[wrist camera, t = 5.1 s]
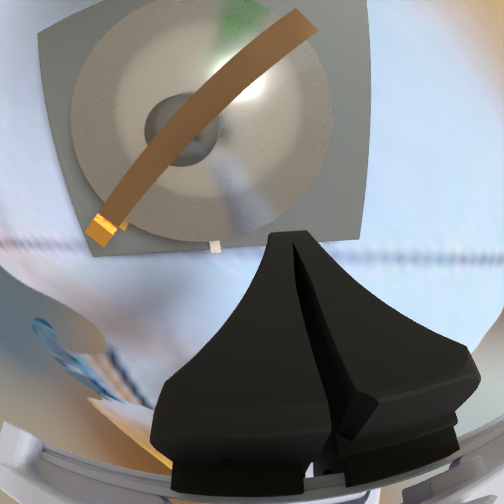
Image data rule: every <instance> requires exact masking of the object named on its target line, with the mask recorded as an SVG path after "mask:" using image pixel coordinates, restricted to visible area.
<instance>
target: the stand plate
mask: <svg viewBox="0 0 504 504" xmlns="http://www.w3.org/2000/svg"><path fill="white" fill-rule="evenodd" d="M153 1H156V0H106V1H103V2H101V3H98V4H96V5H93V6H91V7H89V8H86V9H84V10H82V11H80V12H78V13H75V14H73V15H71V16H69V17H67V18H65V19H63V20H61V21H59V22H57V23H55V24H54V25H52V26H50V27H48V28H46V29H45V30H43V31H41V32H39V33H38V48H39V59H40V68H41V76H42V83H43V90H44V96H45V102H46V107H47V112H48V117H49V122H50V127H51V131H52V135H53V140H54V144H55V148H56V151H57V155H58V159H59V162H60V166H61V169H62V173H63V176H64V179H65V183H66V186H67V189H68V192H69V195H70V198H71V201H72V204H73V207H74V210H75V212H76V215H77V218H78V221H79V223H80V226H81V228H82V231H83V234H84V236H85V239H86V241H87V243H88V246H89V248H90V251H91V253H92V255H93V257H100V256H114V255H128V254H142V253H156V252H170V251H185V250H200V249H211V253H221V248H230V247H245V246H260V245H267V240H268V235H269V234H270V233H271V232H283V231H299V230H307V231H308V232H309V233H310V234H311V235H312V236H313V237H314V239H315V240H316V241H317V242H324V241H341V240H358V239H359V237H360V230H361V223H362V215H363V207H364V199H365V189H366V179H367V168H368V155H369V139H370V115H371V60H370V38H369V24H368V12H367V2H366V0H252V1H255V2H257V3H259V4H262V5H264V6H266V7H268V8H270V9H271V10H273V11H274V12H276V13H278V14H279V15H281V16H282V17H283V16H285V15H286V14H287V13H289V12H290V11H292V10H293V9H295V8H296V9H297V10H299V11H300V12H301V13H302V14H303V15H304V16H305V17H306V18H307V19H308V20H309V21H310V22H311V23H312V24H313V25H314V26H315V27H316V28H317V29H318V30H319V31H318V32H317V33H315V34H314V35H312V36H311V37H310V38H308V39H307V41H308V42H309V43H310V45H311V46H312V48H313V50H314V51H315V53H316V54H317V56H318V58H319V59H320V62H321V64H322V66H323V68H324V71H325V73H326V76H327V79H328V83H329V87H330V90H331V97H332V105H333V125H332V133H331V138H330V144H329V147H328V150H327V153H326V156H325V159H324V162H323V164H322V166H321V168H320V170H319V172H318V174H317V176H316V177H315V179H314V180H313V182H312V183H311V185H310V186H309V188H308V189H307V191H306V192H305V193H304V194H303V195H302V196H301V197H300V199H299V200H298V201H297V202H296V203H295V204H294V205H293V206H292V207H290V208H289V209H288V210H287V211H286V212H285V213H283V214H282V215H281V216H279V217H278V218H276V219H275V220H273V221H272V222H270V223H268V224H266V225H265V226H263V227H261V228H259V229H257V230H254V231H252V232H249V233H247V234H244V235H241V236H237V237H234V238H230V239H225V240H218V241H209V242H191V241H180V240H175V239H169V238H165V237H162V236H159V235H155V234H152V233H150V232H148V231H145V230H143V229H141V228H139V227H137V226H135V225H133V224H131V223H130V222H128V221H126V220H125V219H124V221H123V222H122V223H121V225H120V226H119V227H118V229H117V230H116V231H115V233H114V235H113V236H112V238H111V239H110V240H109V242H108V243H107V244H106V246H105V247H103V246H101V245H100V244H99V243H98V242H96V241H95V240H94V239H93V238H91V237H90V236H89V235H88V234H86V233H85V231H86V230H87V228H88V226H89V225H90V223H91V222H92V220H93V219H94V217H95V216H96V215H97V214H98V212H99V211H100V209H101V208H102V206H103V205H104V201H103V200H102V199H101V198H100V197H99V196H98V195H97V193H96V192H95V191H94V189H93V188H92V186H91V185H90V183H89V182H88V180H87V179H86V177H85V175H84V173H83V171H82V169H81V167H80V165H79V162H78V159H77V156H76V153H75V150H74V145H73V140H72V134H71V104H72V99H73V93H74V89H75V86H76V83H77V80H78V77H79V74H80V72H81V70H82V67H83V65H84V63H85V61H86V59H87V58H88V56H89V55H90V53H91V52H92V50H93V49H94V47H95V46H96V44H97V43H98V42H99V41H100V40H101V38H102V37H103V36H104V35H105V34H106V33H107V32H108V31H109V30H110V29H111V28H112V27H113V26H114V25H116V24H117V23H118V22H119V21H120V20H122V19H123V18H124V17H126V16H127V15H129V14H130V13H132V12H133V11H135V10H137V9H139V8H141V7H143V6H145V5H147V4H149V3H151V2H153Z"/></svg>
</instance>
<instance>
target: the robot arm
mask: <svg viewBox="0 0 504 504" xmlns="http://www.w3.org/2000/svg"><path fill="white" fill-rule="evenodd" d="M480 381H481V376H480V373H479V371H478V369H477V367H476V365H475V362H474V360H473V358H472V356H471V354H470V352H469V350H468V349H467V347H466V346H465V345H463V344H460V343H458V342H456V341H453V340H451V339H449V338H447V337H444V336H442V335H440V334H437V333H435V332H433V331H431V330H429V329H428V328H426V327H424V326H422V325H420V324H418V323H416V322H414V321H413V320H411V319H409V318H408V317H406V316H404V315H403V314H401V313H399V312H398V311H396V310H395V309H393V308H392V307H390V306H389V305H387V304H386V303H384V302H383V301H381V300H380V299H378V298H377V297H376V296H375V295H373V294H372V293H371V292H369V291H368V290H367V289H365V288H364V287H363V286H362V285H360V284H359V283H358V282H357V281H356V280H354V279H353V278H352V277H351V276H350V275H349V274H348V273H347V272H346V271H345V270H344V269H343V268H342V267H341V266H340V265H339V264H338V263H337V262H336V261H335V260H334V259H333V258H332V257H331V256H330V255H329V254H328V253H327V252H326V251H325V250H324V249H323V248H322V247H321V245H320V244H319V243H318V242H317V241H316V240H315V239H314V237H313V236H312V235H311V234H310V233H309V232H308V231H307V230H299V231H283V232H271V233H270V234H269V235H268V240H267V245H266V249H265V252H264V255H263V258H262V260H261V263H260V265H259V268H258V270H257V272H256V274H255V276H254V278H253V280H252V282H251V284H250V286H249V288H248V290H247V291H246V293H245V295H244V296H243V298H242V300H241V301H240V303H239V304H238V306H237V307H236V309H235V310H234V311H233V313H232V314H231V315H230V317H229V318H228V319H227V321H226V322H225V323H224V325H223V326H222V327H221V328H220V330H219V331H218V332H217V333H216V334H215V335H214V336H213V337H212V338H211V340H210V341H209V342H208V343H207V344H206V345H205V346H204V347H203V348H202V349H201V350H200V351H199V352H198V353H197V354H196V355H195V356H194V357H193V358H192V359H191V360H190V361H189V362H188V363H187V364H185V365H184V366H183V367H182V368H181V369H180V370H179V371H177V372H176V373H175V374H174V375H173V376H172V377H170V378H169V379H168V380H167V381H166V382H165V383H164V386H163V388H162V391H161V393H160V396H159V399H158V402H157V405H156V407H155V411H154V415H153V421H152V428H151V434H150V443H151V444H152V446H153V447H154V448H155V449H156V450H157V451H159V452H160V453H161V454H163V455H164V456H165V457H167V458H168V459H170V460H171V461H173V467H172V476H165V475H159V474H153V473H147V472H141V471H136V470H131V469H127V468H123V467H119V466H114V465H111V464H107V463H103V462H99V461H96V460H93V459H89V458H86V457H83V456H80V455H77V454H74V453H71V452H68V451H65V450H63V449H60V448H57V447H55V446H52V445H50V444H47V443H45V442H43V441H42V440H41V439H40V438H38V437H37V436H35V435H34V434H32V433H30V432H29V431H27V430H25V429H23V428H21V427H19V426H16V425H14V424H12V423H10V422H8V421H4V423H3V426H2V430H1V433H0V489H1V490H3V491H4V492H5V493H7V494H8V495H9V496H11V497H12V498H13V499H15V500H16V501H18V502H19V503H20V504H172V503H171V501H169V500H168V499H174V500H181V501H189V502H198V503H210V504H379V498H380V490H381V487H385V486H388V485H392V484H395V483H398V482H401V481H404V480H407V479H410V478H413V477H416V476H419V475H422V474H424V473H427V472H430V471H432V470H435V469H437V468H439V467H442V466H444V465H446V464H449V463H451V462H452V463H451V465H450V466H449V469H448V470H447V471H445V472H443V473H440V474H438V475H436V476H434V477H431V478H429V479H427V480H425V481H423V482H420V483H418V484H416V485H413V486H411V487H408V488H405V489H403V491H402V496H403V503H401V504H504V414H503V415H502V416H500V417H498V418H496V419H494V420H493V421H491V422H489V423H487V424H485V425H483V426H481V427H479V428H477V429H476V430H473V431H471V432H469V433H467V434H465V435H462V436H460V437H458V438H457V437H456V433H455V430H454V427H453V426H455V425H456V424H457V423H458V420H457V416H456V413H455V411H456V410H457V409H458V408H459V407H460V406H461V405H462V404H463V403H464V402H465V401H466V400H467V399H468V398H469V397H470V396H471V395H472V394H473V393H474V391H475V390H476V389H477V387H478V385H479V383H480ZM166 498H167V499H166Z"/></svg>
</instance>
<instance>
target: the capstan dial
mask: <svg viewBox="0 0 504 504" xmlns="http://www.w3.org/2000/svg"><path fill="white" fill-rule="evenodd" d="M318 31H319V30H318V29H317V28H316V27H315V26H314V25H313V24H312V23H311V22H310V21H309V20H308V19H307V18H306V17H305V16H304V15H303V14H302V13H301V12H300V11H299V10H297V9H296V8H295V9H293V10H292V11H290V12H289V13H287V14H286V15H285V16H283V17H282V16H281V15H279V14H278V13H276V12H274V11H273V10H271V9H270V8H268V7H266V6H264V5H262V4H259V3H257V2H255V1H252V0H156V1H153V2H151V3H149V4H147V5H145V6H143V7H141V8H139V9H137V10H135V11H133V12H132V13H130V14H129V15H127V16H126V17H124V18H123V19H122V20H120V21H119V22H118V23H117V24H116V25H114V26H113V27H112V28H111V29H110V30H109V31H108V32H107V33H106V34H105V35H104V36H103V37H102V38H101V40H100V41H99V42H98V43H97V44H96V46H95V47H94V49H93V50H92V52H91V53H90V55H89V56H88V58H87V59H86V61H85V63H84V65H83V67H82V70H81V72H80V74H79V77H78V80H77V83H76V86H75V89H74V93H73V99H72V104H71V134H72V140H73V145H74V150H75V153H76V156H77V159H78V162H79V165H80V167H81V169H82V171H83V173H84V175H85V177H86V179H87V180H88V182H89V183H90V185H91V186H92V188H93V189H94V191H95V192H96V193H97V195H98V196H99V197H100V198H101V199H102V200H103V201H104V205H103V206H102V208H101V209H100V211H99V212H98V214H97V215H96V216H95V217H94V219H93V220H92V222H91V223H90V225H89V226H88V228H87V230H86V231H85V233H86V234H88V235H89V236H90V237H91V238H93V239H94V240H95V241H96V242H98V243H99V244H100V245H101V246H103V247H105V246H106V244H107V243H108V242H109V240H110V239H111V238H112V236H113V235H114V233H115V231H116V230H117V229H118V227H119V226H120V225H121V223H122V222H123V221H124V219H125V220H126V221H128V222H130V223H131V224H133V225H135V226H137V227H139V228H141V229H143V230H145V231H148V232H150V233H152V234H155V235H159V236H162V237H165V238H169V239H175V240H180V241H191V242H209V241H218V240H225V239H230V238H234V237H237V236H241V235H244V234H247V233H249V232H252V231H254V230H257V229H259V228H261V227H263V226H265V225H266V224H268V223H270V222H272V221H273V220H275V219H276V218H278V217H279V216H281V215H282V214H283V213H285V212H286V211H287V210H288V209H289V208H290V207H292V206H293V205H294V204H295V203H296V202H297V201H298V200H299V199H300V197H301V196H302V195H303V194H304V193H305V192H306V191H307V189H308V188H309V186H310V185H311V183H312V182H313V180H314V179H315V177H316V176H317V174H318V172H319V170H320V168H321V166H322V164H323V162H324V159H325V156H326V153H327V150H328V147H329V144H330V138H331V133H332V125H333V105H332V97H331V90H330V87H329V83H328V79H327V76H326V73H325V71H324V68H323V66H322V64H321V62H320V59H319V58H318V56H317V54H316V53H315V51H314V50H313V48H312V46H311V45H310V43H309V42H308V41H307V39H308V38H310V37H311V36H312V35H314V34H315V33H317V32H318Z"/></svg>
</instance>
